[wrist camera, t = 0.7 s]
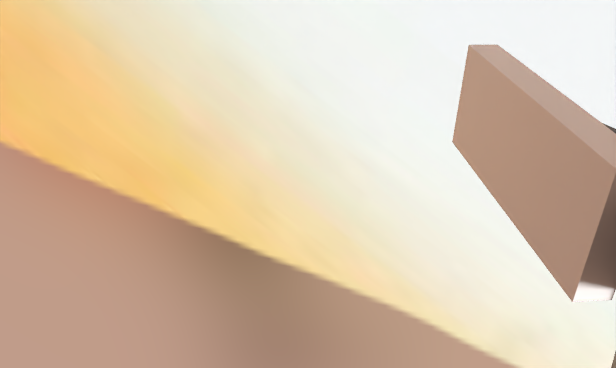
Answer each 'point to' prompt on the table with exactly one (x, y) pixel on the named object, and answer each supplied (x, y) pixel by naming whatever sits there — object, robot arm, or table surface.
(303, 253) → the table surface
